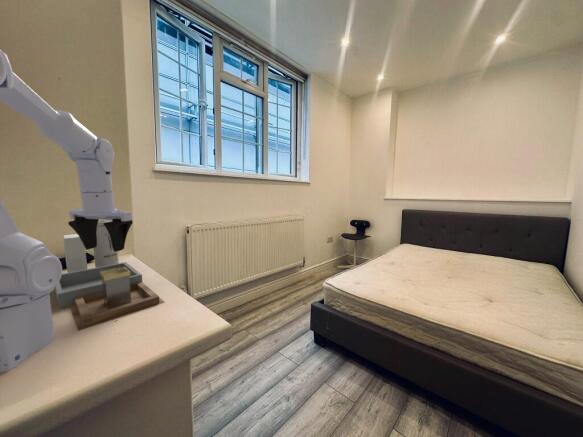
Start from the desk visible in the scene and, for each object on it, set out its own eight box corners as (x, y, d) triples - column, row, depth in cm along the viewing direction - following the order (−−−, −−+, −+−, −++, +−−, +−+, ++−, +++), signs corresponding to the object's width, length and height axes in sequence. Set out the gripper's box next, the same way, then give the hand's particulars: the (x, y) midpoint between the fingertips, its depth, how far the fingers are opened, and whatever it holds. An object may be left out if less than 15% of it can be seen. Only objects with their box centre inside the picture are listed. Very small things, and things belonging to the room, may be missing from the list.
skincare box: (67, 275, 68) (62, 235, 67) (86, 271, 71) (82, 233, 70) (68, 281, 64) (63, 238, 63) (88, 277, 67) (84, 236, 66)
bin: (143, 290, 59) (141, 274, 58) (59, 312, 48) (57, 294, 47) (126, 275, 69) (125, 262, 68) (54, 291, 58) (52, 275, 57)
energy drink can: (109, 270, 72) (104, 222, 70) (90, 270, 72) (85, 222, 71) (123, 264, 78) (119, 220, 76) (105, 264, 78) (101, 220, 77)
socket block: (165, 306, 51) (164, 296, 50) (78, 335, 40) (77, 323, 40) (144, 288, 60) (143, 279, 60) (69, 308, 50) (68, 297, 49)
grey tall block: (132, 302, 50) (130, 271, 49) (107, 310, 47) (103, 276, 46) (127, 296, 53) (124, 266, 52) (102, 303, 50) (99, 271, 49)
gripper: (139, 191, 56) (145, 246, 58) (87, 189, 58) (95, 242, 60) (113, 193, 49) (120, 255, 51) (55, 191, 51) (65, 251, 54)
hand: (105, 249), depth 55 cm, fingers open, 7 cm apart
